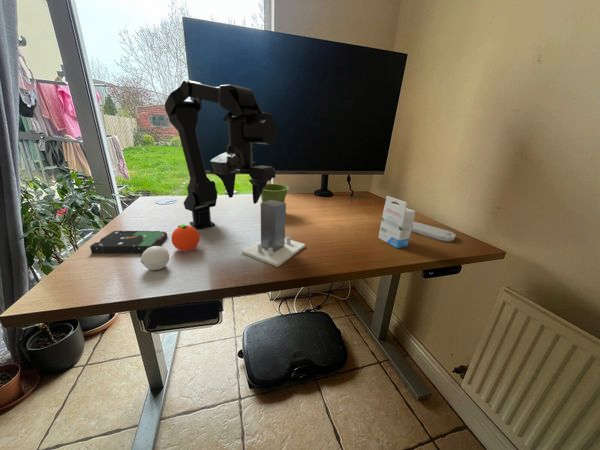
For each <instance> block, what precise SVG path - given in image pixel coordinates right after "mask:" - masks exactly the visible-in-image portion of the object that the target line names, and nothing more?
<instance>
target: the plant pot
mask: <svg viewBox="0 0 600 450" xmlns="http://www.w3.org/2000/svg"><path fill="white" fill-rule="evenodd" d="M289 188H290V187H289V186H287V185H285V184H279V183H267V184H266V186H265V187H264V189H263V191H262V193H261V196H260V198H261V201H262V202H265V201H269V200H275V201H279V202H283V203H285V201H286V197H287V193H288V190H289ZM262 202H261V203H262Z"/></svg>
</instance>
